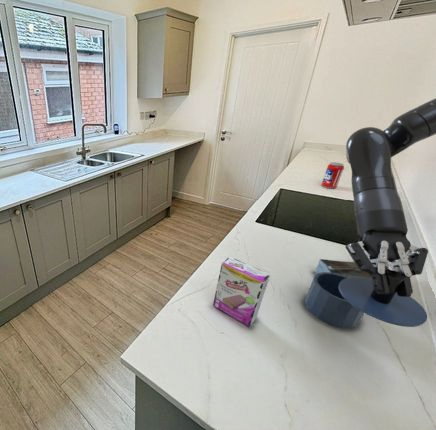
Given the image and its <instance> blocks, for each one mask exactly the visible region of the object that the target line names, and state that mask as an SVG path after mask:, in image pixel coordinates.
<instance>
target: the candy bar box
mask: <svg viewBox="0 0 436 430" xmlns="http://www.w3.org/2000/svg"><path fill="white" fill-rule="evenodd" d="M270 278H271V274H270V273H268V272H266V271H263V270H262V269H259V268H257V267H255V266H253V265H250V264H248V263H246V262H243V261H241V260H239V259H237V258H234V257H232V256H228V257H227V258H226V259H225V260H224V261H222V263H221V265H220V270H219V275H218V279H217V284H216V289H215V294H214V298H213V303H212V307H214V308H216V309H217V310H219V311H221V312H223V313H224V314H226V315H228V316H230V317H231V318H233V319H234V320H236V321H238V322H240V323H241V324H243V325H245V326H247V327H249V328H250V327H251V326H252V324H253V323H254V322H255V320H256V319H257V317H258V314H259V311H260V308H261V305H262V301H263V299H264V296H265V292H266V289H267V286H268V284H269V280H270Z"/></svg>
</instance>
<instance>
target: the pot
mask: <svg viewBox="0 0 436 430" xmlns="http://www.w3.org/2000/svg"><path fill="white" fill-rule="evenodd" d="M346 278H349V277H346V276H344V275H341V274H336V273H332V272H322V273H318V274H316V273H315V275H314V276H313V278H312V280H311V283H310V286H309V288H308V291H307V293H306V296H305V298H304V305H305V307H306V309H307V310H308V311H309V313H311V315H313V316H314V317H315V318H317V319H318V320H320V321H322V322H324V323H325V324H328V325H331V326H334V327H337V328H341V329H351V328H355V327H357V326H358V325H359V323H360V321H361V319H362V318H363V316H364V314H365V313H364V312H362V311H360V310H358V309H357V308H355V307H354V306H353V305H351V304H350V303H349V302H348V301H347V300H346V299H345V298H344V297H343V296H342V295H341V293H340V291H339V284H340V282H341V281H342V280H343V279H346Z"/></svg>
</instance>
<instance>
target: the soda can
mask: <svg viewBox="0 0 436 430" xmlns="http://www.w3.org/2000/svg"><path fill="white" fill-rule="evenodd" d="M344 169H345V164H344V163H341V162H336V161H335V162H334V161H333V162H330V163H329V164H328V165H327V167H326V169H325V172H324V175H323V178H322V181H321V185H320V186H321V187H323V188H325V189H329V190H330V189H331V190H332V189H333V190H334V189H336V188H337V187H338V185H339V182H340V180H341V178H342V174H343V173H344Z"/></svg>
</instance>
